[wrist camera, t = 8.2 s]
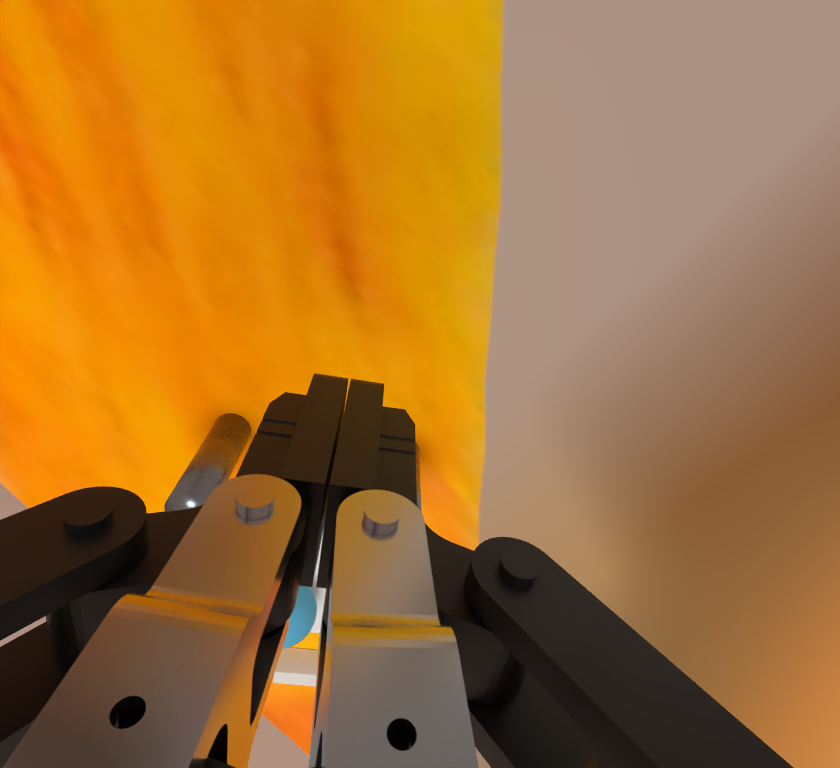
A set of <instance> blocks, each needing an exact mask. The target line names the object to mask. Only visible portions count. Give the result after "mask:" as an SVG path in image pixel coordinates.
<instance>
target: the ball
mask: <svg viewBox="0 0 840 768" xmlns="http://www.w3.org/2000/svg"><path fill="white" fill-rule="evenodd" d="M316 615H317V603H316V599H315V596H314V594H313V592H312V590H311V589H310V587H306V586H299V590H298V594H297V599H296V603H295V607H294V610H293V612H292V614H291V616H290V622H289V628H288V631H287V634H286V638H285V641H284V644H283V647H282V648H288V647H291V646H293V645H295V644H297V643H299V642H300V641H302V640H303V639H304V638H305V637H306V636H307V635H308V633H309V632H310V631H311V629H312V627H313V625H314V622H315V619H316Z"/></svg>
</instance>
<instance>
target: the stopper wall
mask: <svg viewBox="0 0 840 768" xmlns="http://www.w3.org/2000/svg"><path fill="white" fill-rule="evenodd" d="M317 662H318V650H310V649H299V648H289V647H288V648H282V650H281V654H280V657H279V660H278V663H277V666H276V669H275V673H274V683H282V684H294V685H306V686H316V675H317Z"/></svg>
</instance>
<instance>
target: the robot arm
mask: <svg viewBox="0 0 840 768" xmlns="http://www.w3.org/2000/svg"><path fill="white" fill-rule="evenodd" d="M347 386H348V378H341V377H335V376H328V375H321V374H314V375H313V378H312V381H311V384H310V387H309V390H308V393H307V395H301V394H294V393H287V392H285V393H284V394H282V395H281V396H279V397H278V398H277V399H275V400H274V401H272V402H271V403H270V404H269V406H268V408H267V410H266V412H265V414H264V417H263V420H262V421H261V423H260V425H259V428H258V430H257V434H255V436H254V438H253V441H252V443H251V445H250V447H249V449H248V451H247V454H246V456H245V458H244V460H243V462H242V465H241V467H240V469H239V471H238V473H237V475H236V477H235V478H232V479H230V480H228V481H226V482H224V483H222V484H221V485H219V486H218V487H217V488H216V489H214V490H213V492H212V493H211V494H210V496H209V497H208V499H207V500H206V502H205V503H204V504H203V505H201V506H198V507H194V508H190V509H184V510H176V511H167V512H157V513H148V514H147V513H146V506H145V504H144V502H143V501H142V499H141V498H140V497H139V496H137V495H136V494H135V493H133V492H130V491H128V490H125V489H122V488H116V487H104V486H103V487H91V488H84V489H80V490H76V491H73V492H70V493H67V494H64V495H62V496H59V497H57V498H54V499H52V500H49V501H47V502H44V503H42V504H39V505H37V506H34V507H32V508H29V509H27V510H24V511H22V512H19V513H17V514H14V515H12V516H9V517H7V518H4V519H1V520H0V640H2V639H4V638H6V637H8V636H9V635H11V634H13V633H15V632H17V631H19V630H20V629H22V628H24V627H26V626H28V625H30V624H32V623H33V622H35V621H37V620H39V619H41V618H43V617H44V616H46V622H45V623H43V624H41V625H39V626H37V627H36V628H34V629H32V630H30V631H28V632H27V633H25V634H23V635H21V636H19V637H17V638H16V639H14V640H12V641H10V642H9V643H7V644H5V645H3V646H1V647H0V768H247V767H248V761H249V756H250V752H251V748H252V744H253V740H254V736H255V733H256V730H257V727H258V723H259V720H260V717H261V714H262V711H263V708H264V704H265V701H266V698H267V695H268V692H269V688H270V685H271V682H272V679H273V676H274V673H275V669H276V666H277V663H278V660H279V657H280V654H281V650H282V647H283V644H284V641H285V638H286V634H287V631H288V628H289V622H290V616H291V614H292V612H293V610H294V607H295V603H296V599H297V594H298V590H299V586H306V587H312V586H313V580H314V575H315V570H316V565H317V560H318V555H319V550H320V545H321V540H322V546H321V554H320V561H319V569H318V576H317V584H316V587H317V588H326V593H325V600H324V607H323V614H322V621H321V628H320V637H319V650H318V662H317V675H316V688H315V700H314V713H313V725H312V738H311V749H310V760H309V768H479V767H478V761H477V755H476V749H475V747H476V748H477V750H478V751H479V752H480V753H481V755H482V756H483V757H484V759H485V760H486V761H487V762H488V764H489V765H490V767H491V768H793V767H792V766H791V765H790V764H789V763H787V762H786V761H785V760H784V759H783V758H781V757H780V756H779V755H778V754H777V753H776V752H775V751H773V750H772V749H771V748H770V747H769V746H768V745H767V744H765V743H764V742H763V741H762V740H761V739H760V738H758V737H757V736H756V735H755V734H754V733H753V732H751V731H750V730H749V729H748V728H747V727H745V726H744V725H743V724H742V723H741V722H740V721H739V720H738V719H736V718H735V717H734V716H733V715H732V714H731V713H729V712H728V711H727V710H726V709H725V708H724V707H722V706H721V705H720V704H719V703H718V702H716V700H714V699H713V698H712V697H711V696H710V695H709V694H707V693H706V692H705V691H704V690H703V689H702V688H700V687H699V686H698V685H697V684H696V683H695V682H693V681H692V680H691V679H690V678H689V677H688V676H687V675H685V674H684V673H683V672H682V671H681V670H680V669H679V668H677V667H676V666H675V665H674V664H673V663H672V662H670V661H669V660H668V659H667V658H666V657H665V656H663V655H662V654H661V653H660V652H659V651H658V650H657V649H655V648H654V647H653V646H652V645H651V644H649V643H648V642H647V641H646V640H645V639H644V638H643V637H641V636H640V635H639V634H638V633H637V632H636V631H635V630H633V629H632V628H631V627H630V626H629V625H628V624H626V623H625V622H624V621H623V620H622V619H621V618H619V617H618V616H617V615H616V614H615V613H614V612H613V611H611V610H610V609H609V608H608V607H607V606H606V605H604V604H603V603H602V602H601V601H600V600H599V599H597V598H596V597H595V596H594V595H593V594H592V593H591V592H589V591H588V590H587V589H586V588H585V587H583V586H582V585H581V584H580V583H579V582H578V581H577V580H576V579H574V578H573V577H572V576H571V575H570V574H568V573H567V572H566V571H565V570H564V569H563V568H562V567H560V566H559V565H558V564H557V563H556V562H555V561H553V560H552V559H551V558H550V557H549V556H548V555H547V554H545V553H544V552H543V551H541V550H540V549H539V548H537V547H535V546H534V545H532V544H530V543H527V542H525V541H522V540H519V539H515V538H510V537H496V538H491V539H488V540H486V541H484V542H482V543H481V544H480V545H479V546H478V547H477V548H476V549H475V551H473V550H470V549H467V548H465V547H462V546H460V545H457V544H454V543H452V542H450V541H448V540H445V539H444V538H442V537H440V536H439V535H437V534H436V533H435V532H433V531H432V530H431V529H430V528H429V527H428V526H427V525H426V524H425V522H424V518H423V515H422V513H421V511H420V510H419V509H418V507H417V486H416V456H415V453H416V446H415V424H414V422H413V421H412V419H411V418H410V416H409V415H408V413H407V412H406V410H404V409H397V408H390V407H383V406H382V405H383V393H384V384H382V383H375V382H368V381H362V380H355V379H351V381H350V386H349V391H348V396H347V401H346V393H347ZM345 401H346V406H345ZM344 408H345V411H344ZM343 415H344V416H343ZM323 530H324V531H323ZM322 535H323V538H322Z"/></svg>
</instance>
